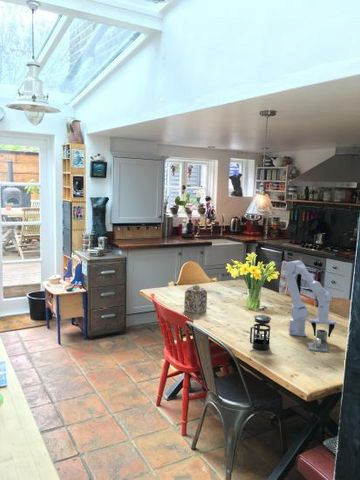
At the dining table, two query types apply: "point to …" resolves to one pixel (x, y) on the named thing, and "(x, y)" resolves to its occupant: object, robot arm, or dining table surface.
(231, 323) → the dining table surface
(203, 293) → the decorative jar
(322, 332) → the collar
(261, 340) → the french press
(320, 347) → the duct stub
